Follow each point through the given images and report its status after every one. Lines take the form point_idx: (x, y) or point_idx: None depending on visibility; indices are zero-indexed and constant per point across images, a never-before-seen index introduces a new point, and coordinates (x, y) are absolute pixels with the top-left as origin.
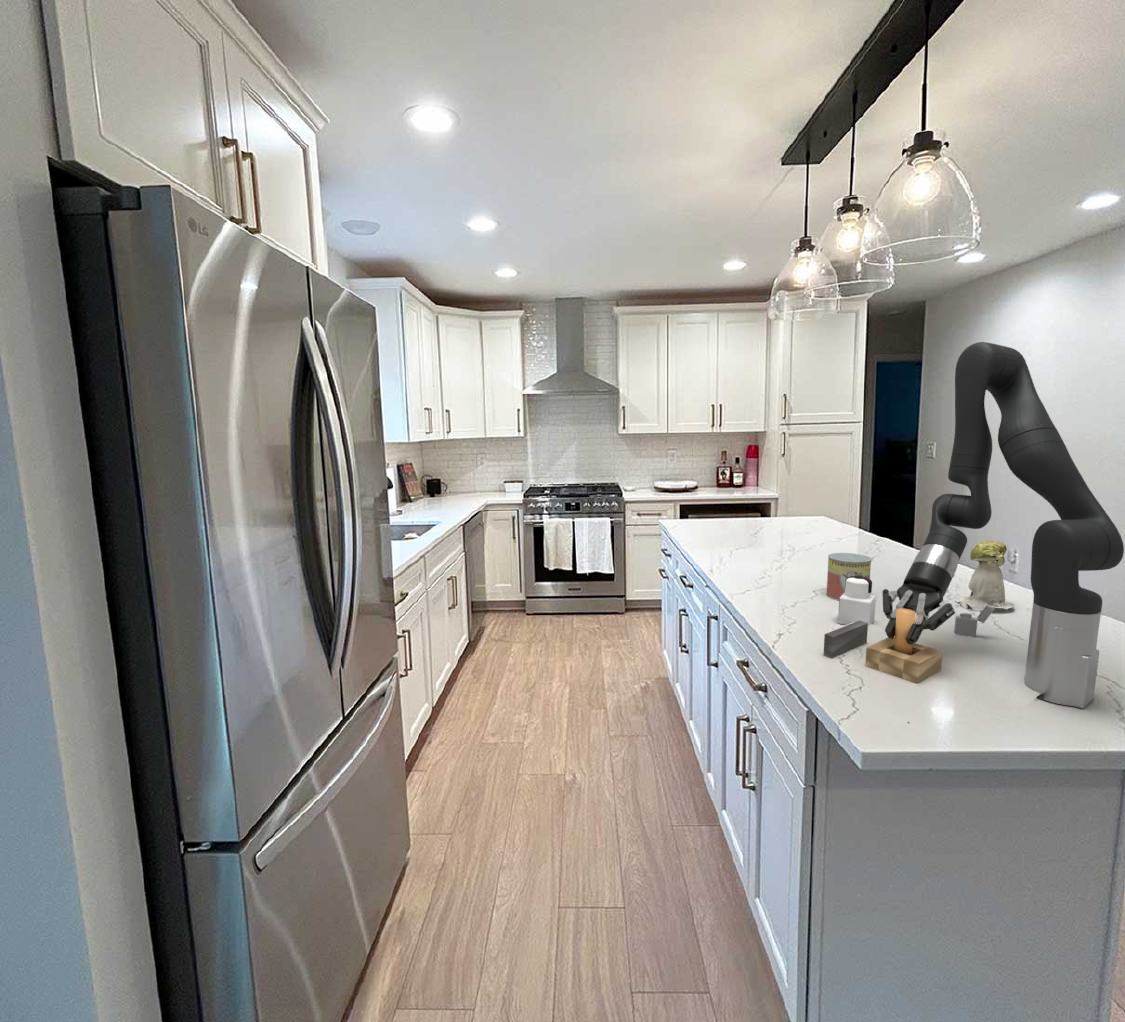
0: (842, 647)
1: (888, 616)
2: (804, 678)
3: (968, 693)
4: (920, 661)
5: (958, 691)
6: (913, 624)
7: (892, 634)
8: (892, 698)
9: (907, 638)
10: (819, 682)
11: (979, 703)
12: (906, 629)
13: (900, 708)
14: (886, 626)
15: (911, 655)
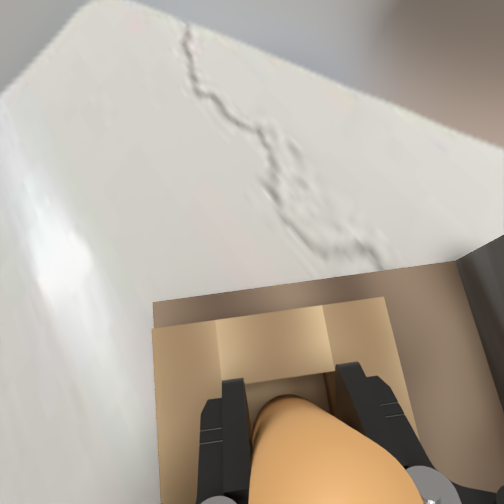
0: (497, 326)
1: (471, 495)
2: (389, 112)
3: (59, 475)
4: (161, 360)
5: (88, 457)
6: (243, 486)
7: (340, 399)
8: (183, 215)
9: (233, 379)
10: (351, 127)
11: (8, 424)
12: (269, 429)
13: (139, 183)
14: (399, 405)
15: (221, 393)
